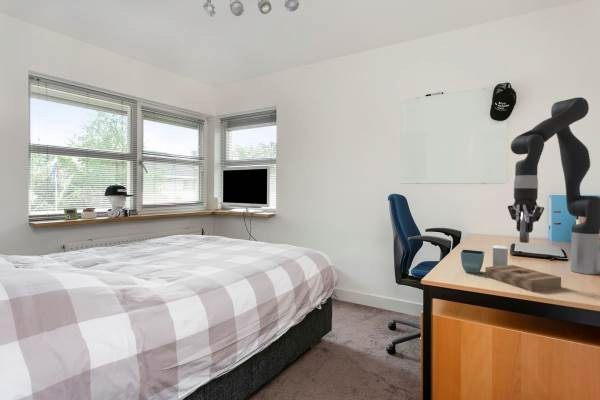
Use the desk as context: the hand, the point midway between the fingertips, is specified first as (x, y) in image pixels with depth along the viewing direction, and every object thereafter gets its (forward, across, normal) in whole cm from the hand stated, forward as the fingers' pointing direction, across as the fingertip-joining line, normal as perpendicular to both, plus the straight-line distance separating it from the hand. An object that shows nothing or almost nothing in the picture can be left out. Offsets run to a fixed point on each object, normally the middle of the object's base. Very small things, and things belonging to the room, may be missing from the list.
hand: (524, 231), depth 124 cm
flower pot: (+20, +19, +6) cm, 28 cm away
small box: (+20, +18, -8) cm, 28 cm away
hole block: (+20, +1, 0) cm, 20 cm away
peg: (+4, 0, 0) cm, 4 cm away
